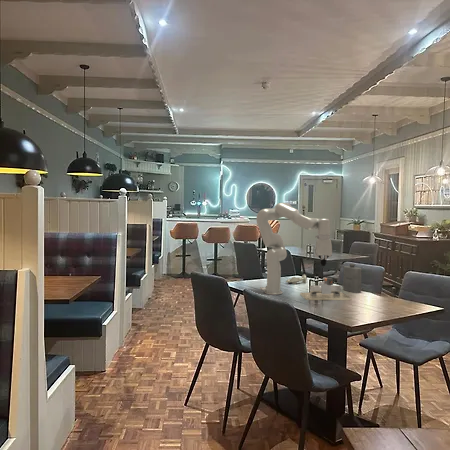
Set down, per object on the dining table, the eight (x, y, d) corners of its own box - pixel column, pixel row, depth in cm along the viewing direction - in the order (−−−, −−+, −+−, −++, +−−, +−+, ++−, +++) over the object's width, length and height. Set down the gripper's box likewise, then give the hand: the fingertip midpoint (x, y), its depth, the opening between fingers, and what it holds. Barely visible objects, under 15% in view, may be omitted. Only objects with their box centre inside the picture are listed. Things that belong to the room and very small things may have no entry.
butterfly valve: (289, 284, 332) (309, 281, 337) (284, 259, 336) (304, 256, 341) (285, 286, 340) (305, 283, 345) (280, 261, 344) (300, 259, 349)
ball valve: (305, 299, 281) (306, 282, 280) (300, 294, 297) (300, 278, 296) (350, 300, 282) (351, 282, 282) (342, 294, 298) (343, 278, 298)
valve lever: (322, 281, 290) (322, 275, 290) (327, 281, 291) (327, 275, 290) (328, 285, 277) (328, 279, 277) (333, 285, 277) (333, 279, 277)
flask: (340, 289, 317) (341, 262, 316) (346, 288, 320) (347, 262, 319) (356, 293, 304) (357, 265, 303) (362, 292, 307) (363, 264, 306)
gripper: (313, 238, 273) (313, 266, 274) (336, 238, 274) (336, 266, 275) (310, 237, 280) (310, 265, 281) (333, 237, 281) (332, 264, 282)
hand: (323, 265), depth 278 cm, fingers closed
